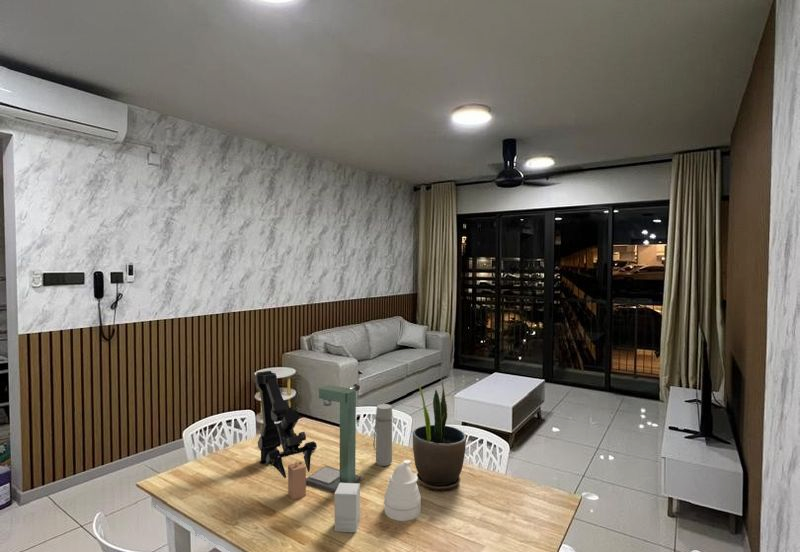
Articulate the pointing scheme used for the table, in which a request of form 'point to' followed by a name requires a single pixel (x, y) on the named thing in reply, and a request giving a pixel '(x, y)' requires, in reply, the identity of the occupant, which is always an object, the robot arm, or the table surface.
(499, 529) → the table surface
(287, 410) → the robot arm
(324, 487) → the arbor press
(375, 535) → the table surface
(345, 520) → the supplement box
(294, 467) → the block
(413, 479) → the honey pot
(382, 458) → the water bottle
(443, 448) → the potted plant
